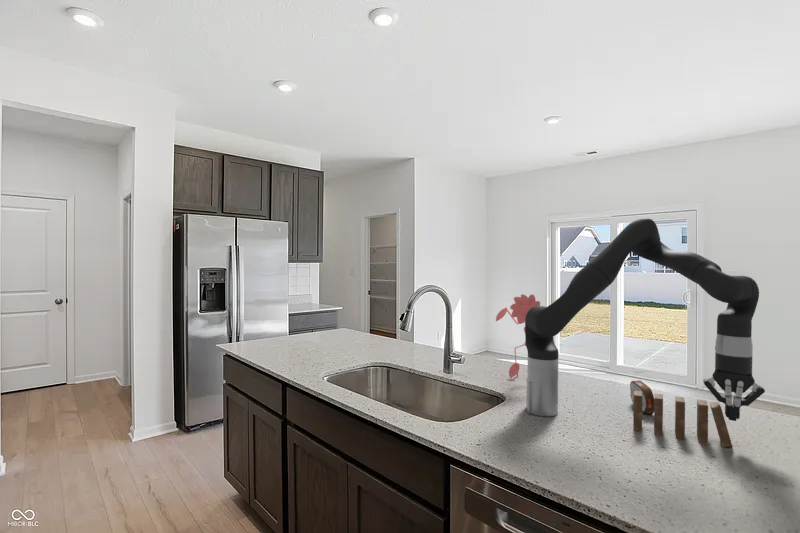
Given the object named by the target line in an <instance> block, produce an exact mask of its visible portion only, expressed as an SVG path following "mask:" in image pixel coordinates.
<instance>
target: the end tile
mask: <svg viewBox="0 0 800 533" xmlns="http://www.w3.org/2000/svg"><path fill="white" fill-rule="evenodd" d="M709 406H710V410H711V412H712V417H713V420H714V423H715V427H716V430H717V434H718V436H719V440H720V443H721V446H722V447H723V448H733V443H732V439H731V437H730V433H729V430H728V427H727V422H726V420H725V415H724V414H723V409H722V406H721V404H720V402H719V401H711V402H709Z"/></svg>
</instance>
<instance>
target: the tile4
mask: <svg viewBox="0 0 800 533" xmlns="http://www.w3.org/2000/svg"><path fill="white" fill-rule="evenodd" d="M696 438H697V442H698V443H699V444H705V445H708V444H709V405H708V401H707V400H703V399H696Z"/></svg>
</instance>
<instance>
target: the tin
mask: <svg viewBox="0 0 800 533" xmlns="http://www.w3.org/2000/svg"><path fill="white" fill-rule="evenodd" d="M629 383H630V384H629V386H630V387H629V388H630V389H629V390H630V398H631V402H632V403H633V405H634V390H635V391H642V414H647V415H648V414H651V415H654V394H653V391H652V389H651V387H650V386H648V385H647V384H646V383H644V382H643V381H642V380H631V382H629Z"/></svg>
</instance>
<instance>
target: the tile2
mask: <svg viewBox="0 0 800 533" xmlns="http://www.w3.org/2000/svg"><path fill="white" fill-rule="evenodd" d="M653 396H654V413H653V420H654V421H653V424H654V425H653V435H656V436H662V437H663V434H664V433H663V432H664V431H663V429H664V428H663V426H664V420H663V419H664V395H663V394H661V393H656V392H655V393H654V394H653Z"/></svg>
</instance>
